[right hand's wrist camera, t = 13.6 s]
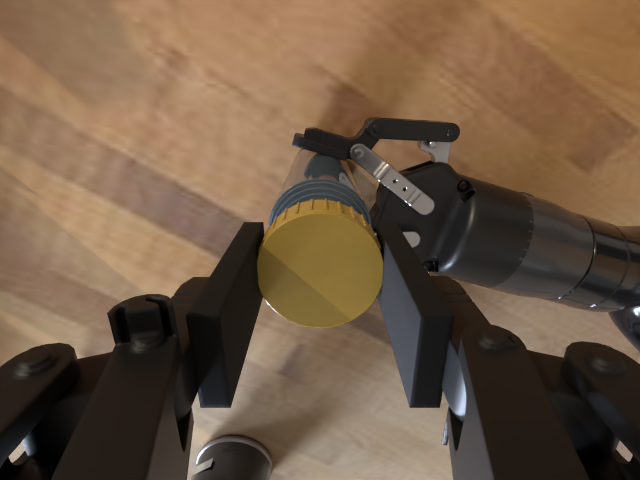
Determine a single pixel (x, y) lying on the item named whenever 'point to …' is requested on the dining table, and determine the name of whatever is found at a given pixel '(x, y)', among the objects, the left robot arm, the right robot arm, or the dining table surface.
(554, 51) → the dining table surface
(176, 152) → the dining table surface
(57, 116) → the dining table surface
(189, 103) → the dining table surface
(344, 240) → the cap
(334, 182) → the bottle
